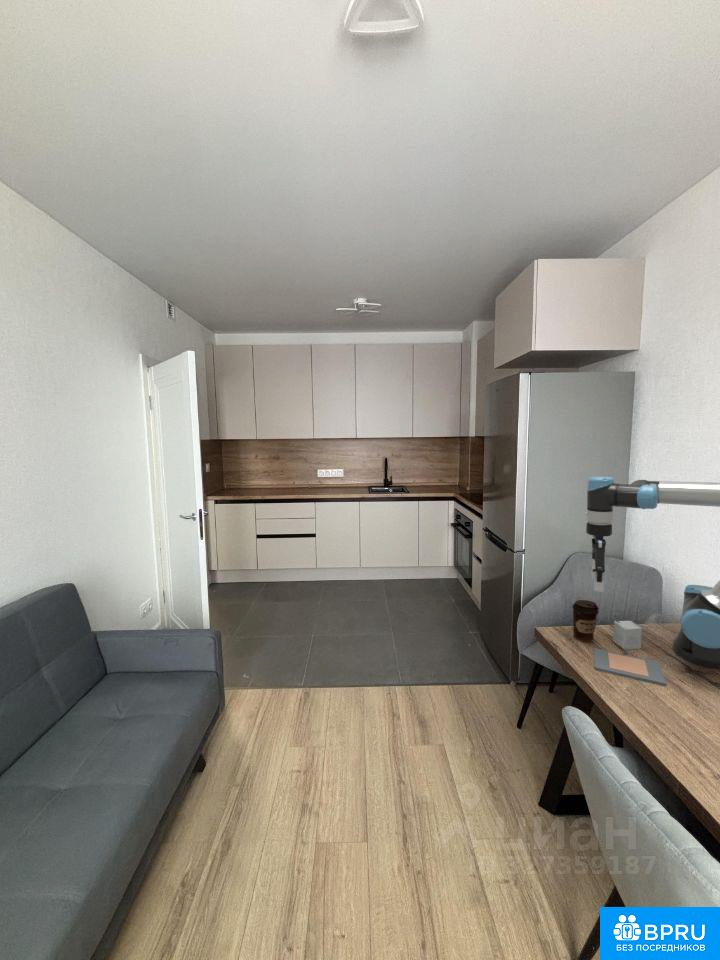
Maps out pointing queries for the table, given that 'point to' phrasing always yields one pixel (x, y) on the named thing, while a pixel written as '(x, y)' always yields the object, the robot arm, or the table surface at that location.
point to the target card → (629, 666)
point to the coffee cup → (584, 620)
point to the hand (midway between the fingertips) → (597, 584)
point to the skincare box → (627, 634)
